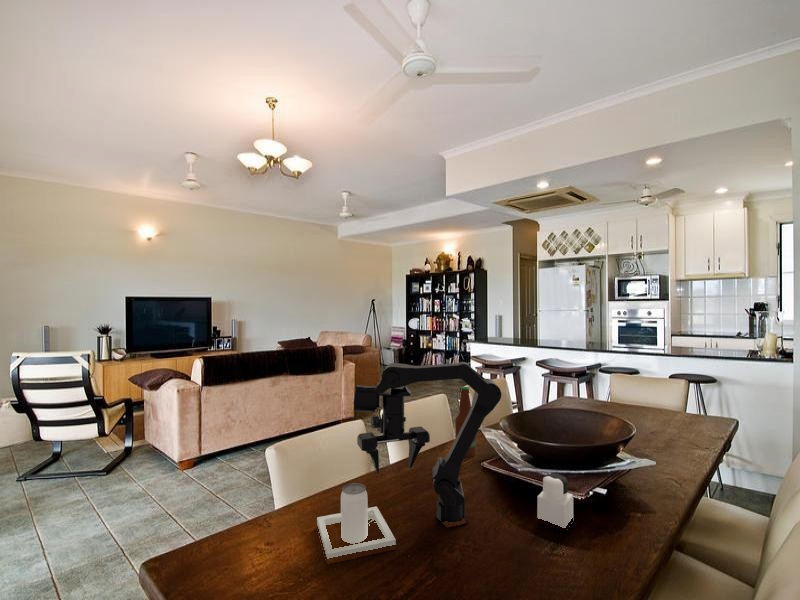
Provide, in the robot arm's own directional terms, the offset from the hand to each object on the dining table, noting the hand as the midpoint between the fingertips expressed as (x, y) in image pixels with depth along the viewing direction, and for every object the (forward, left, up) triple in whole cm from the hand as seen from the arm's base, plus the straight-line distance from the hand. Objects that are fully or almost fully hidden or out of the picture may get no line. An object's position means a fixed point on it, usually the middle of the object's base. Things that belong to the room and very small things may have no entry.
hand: (393, 470), depth 109 cm
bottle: (-39, -33, -13) cm, 53 cm away
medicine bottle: (-39, +16, -13) cm, 44 cm away
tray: (+12, +5, -13) cm, 18 cm away
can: (+12, +6, -12) cm, 18 cm away
